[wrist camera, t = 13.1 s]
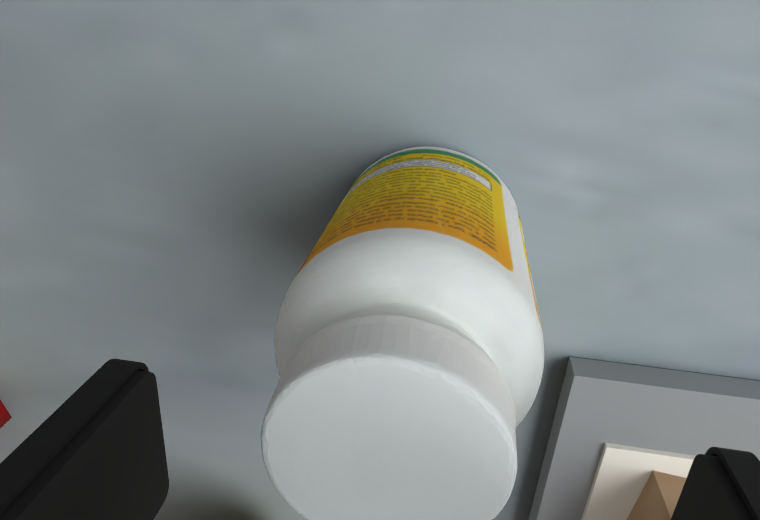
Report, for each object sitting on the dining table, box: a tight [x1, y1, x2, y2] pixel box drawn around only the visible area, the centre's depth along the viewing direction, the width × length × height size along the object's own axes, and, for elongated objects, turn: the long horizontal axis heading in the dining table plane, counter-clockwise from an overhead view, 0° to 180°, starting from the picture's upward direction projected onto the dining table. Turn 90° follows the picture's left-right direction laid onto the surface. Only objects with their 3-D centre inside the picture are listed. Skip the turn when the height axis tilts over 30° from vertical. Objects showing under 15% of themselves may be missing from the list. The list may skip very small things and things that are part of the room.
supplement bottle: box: [261, 146, 544, 520], centre depth 13 cm, size 5×5×10 cm
